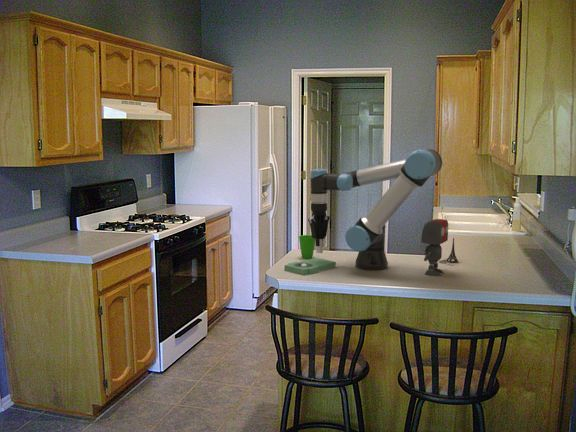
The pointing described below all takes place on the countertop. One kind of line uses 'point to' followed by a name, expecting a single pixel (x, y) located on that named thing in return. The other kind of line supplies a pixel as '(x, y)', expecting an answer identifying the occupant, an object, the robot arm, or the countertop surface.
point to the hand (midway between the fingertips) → (319, 252)
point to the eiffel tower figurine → (450, 257)
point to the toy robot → (434, 243)
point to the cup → (307, 246)
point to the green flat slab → (310, 266)
